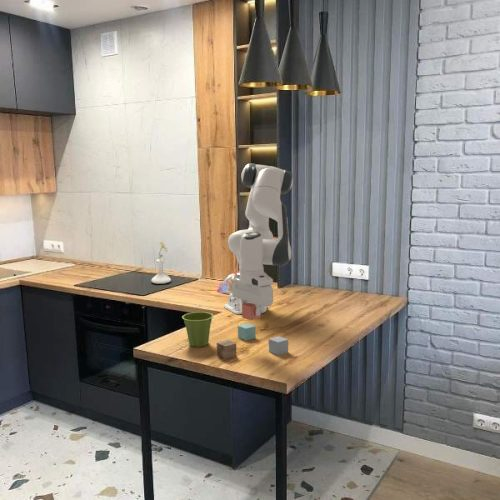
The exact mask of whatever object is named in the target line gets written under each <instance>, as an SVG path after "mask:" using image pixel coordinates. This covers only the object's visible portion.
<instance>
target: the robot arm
mask: <svg viewBox="0 0 500 500" xmlns="http://www.w3.org/2000/svg"><path fill="white" fill-rule="evenodd" d="M240 177H241V178H240V179H241V183H242V185H243V186H244V187H246V188H249V189H250V192H249V194H248V199H247V203H246V207H245V208H246V209H245V212H244V215H245V218H246V219H247V220H248V221H249V225H248V228H247V229H241V230H237V231H235V232H233V233H231V234H230V235H229V236H228V239H227V246H228V248H229V250H230V252H231V253H233V255H234V256H235V258H236V260H237V263H238V268H239V270H238V271H239V273H237V272H236V274H235V273H234V274H235V276H234V280H233V285H232V293H231V294H228V301H227V303H225V304H224V303H223V305H222V306H223V308H225V309H227V310H228V311H229V312H231V313H233V314H235V315H242V304H246V303H250V302H251V303H254V304H256V307H257V308H256V310H254V315H256V316H259V315H260V310H261V314H264V313H266V312H267V310H268V307H271V306H272V305H273V303H274V288H273V286H272V285H273V283H274V279H273V278H272V277H271V276H269V275H268V274H267V273H266V272H265V271H264V268H265V267H264V265H267V266H268V265H270V266H278V267H284V266H285V265H287V264H288V263H289V262H290V261H291V259H292V247H291V244H290V243H291V242H290V234H289V233H290V232H289V231H290V230H289V229H290V228H289V218H288V210H287V207H286V205H285V204H284V203H283V202H282V201H281V195H286V194H287V193H289V192H290V191H291V189H292V187H293V185H294V184H293V183H294V180H293V174H292V172H290V171H289V170H287V169H281V168H279V167H276V166H272V165H270V166H269V165H265V164H256V163H247V164H246V165H245V166H244V167H243V169H242V172H241V176H240ZM270 219H272V220H274V221H275V222H277V235H278V236H277V238H274V235H273V232H272V231H271V230H270V226H269V225H270Z"/></svg>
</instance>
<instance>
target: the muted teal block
mask: <svg viewBox="0 0 500 500" xmlns="http://www.w3.org/2000/svg"><path fill="white" fill-rule="evenodd" d="M256 334H257V331H256V325H253V324H251V323H242V324H240V325H237V338H238V339H241V340H243V341H250V340H253V339H256V337H257V336H256Z"/></svg>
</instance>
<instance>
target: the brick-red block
mask: <svg viewBox="0 0 500 500" xmlns="http://www.w3.org/2000/svg"><path fill="white" fill-rule="evenodd" d="M256 308H257V307H256V304H254V303H251V302H250V303H246V304H242V314H241V317H242V318H243V319H246V320H248V321H254V320H258V319H261V318H262V313H261V310H260V315H259V316H256V315H254V310H256Z"/></svg>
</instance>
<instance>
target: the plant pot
mask: <svg viewBox="0 0 500 500" xmlns="http://www.w3.org/2000/svg"><path fill="white" fill-rule="evenodd" d="M213 317H214V314H213V313H211V312H207V311H195V312H188V313H185V314H184V315H183V314H182V316H181V318H182V319H183V322H184V325H185V329H186V334H187V338H188V343H189V346H190V347H196V348H202V347H205V346H207V345H209V342H210V341H209V339H210V331H211V325H212V319H213Z"/></svg>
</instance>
